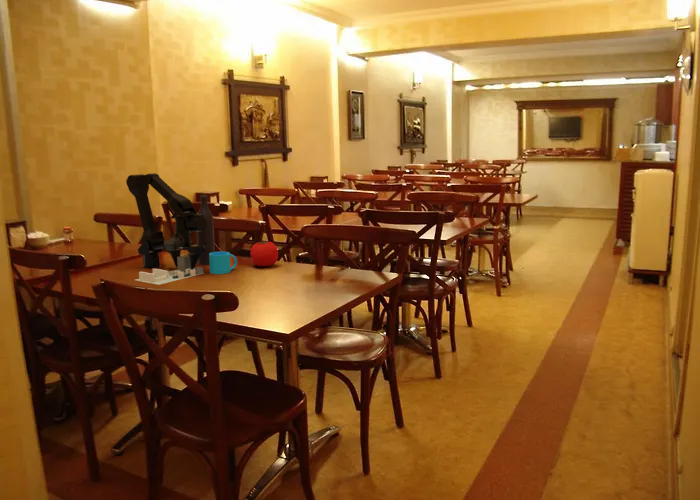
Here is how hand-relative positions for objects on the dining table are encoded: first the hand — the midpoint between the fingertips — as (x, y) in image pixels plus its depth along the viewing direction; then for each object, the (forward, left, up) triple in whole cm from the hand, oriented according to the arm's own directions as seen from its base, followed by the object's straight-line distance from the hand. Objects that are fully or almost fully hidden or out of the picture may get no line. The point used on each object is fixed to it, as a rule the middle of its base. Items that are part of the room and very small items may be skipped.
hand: (184, 268), depth 242 cm
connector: (0, 0, -1) cm, 1 cm away
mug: (+13, +9, -2) cm, 16 cm away
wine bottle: (-4, +16, -2) cm, 16 cm away
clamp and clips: (+8, -5, -1) cm, 9 cm away
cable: (+7, -7, -1) cm, 10 cm away
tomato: (+19, +27, -2) cm, 33 cm away
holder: (+1, -16, -1) cm, 17 cm away
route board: (+2, -10, -2) cm, 10 cm away
